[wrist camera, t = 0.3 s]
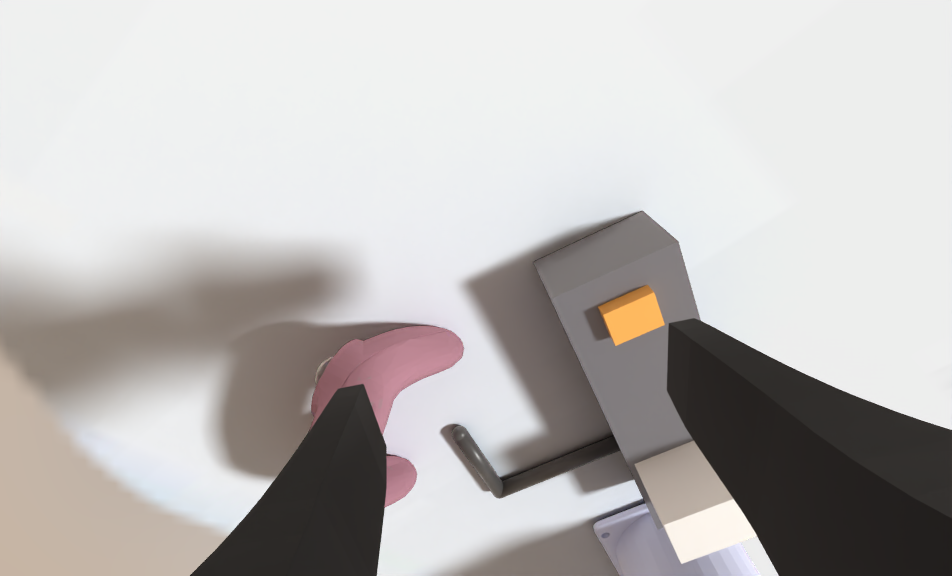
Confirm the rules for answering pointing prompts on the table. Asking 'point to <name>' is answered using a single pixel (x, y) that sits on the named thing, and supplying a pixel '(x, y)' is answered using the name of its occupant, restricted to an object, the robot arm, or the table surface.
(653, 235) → the power strip
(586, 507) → the table surface
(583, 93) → the table surface
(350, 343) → the video game controller
